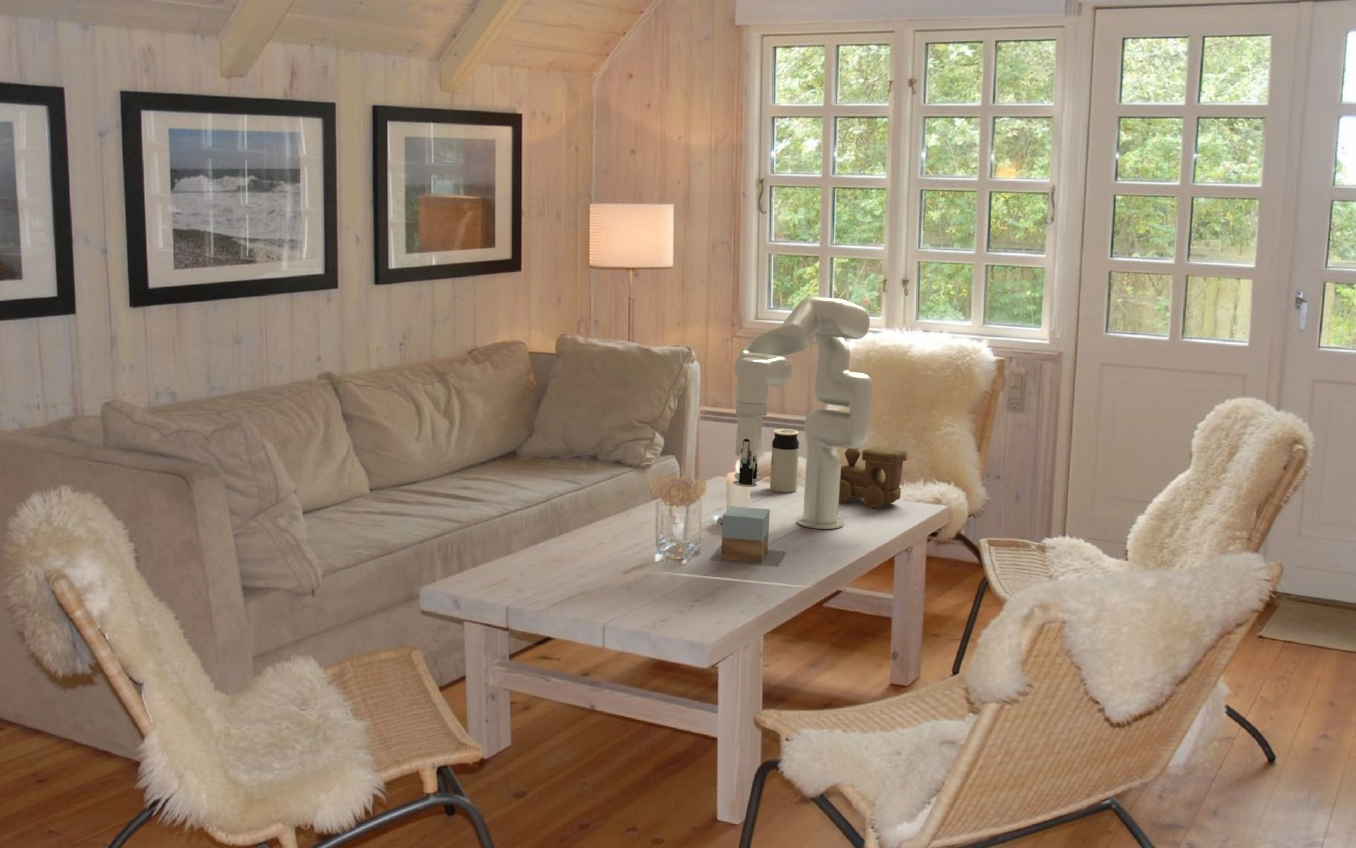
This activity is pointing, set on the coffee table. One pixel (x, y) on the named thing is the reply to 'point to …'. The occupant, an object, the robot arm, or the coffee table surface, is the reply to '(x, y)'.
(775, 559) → the mat
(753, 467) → the pacifier
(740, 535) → the top block
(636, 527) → the coffee table surface
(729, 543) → the bottom block
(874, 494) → the wooden toy train
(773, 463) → the travel mug
